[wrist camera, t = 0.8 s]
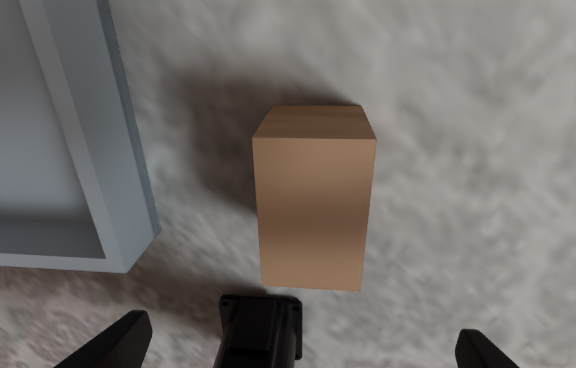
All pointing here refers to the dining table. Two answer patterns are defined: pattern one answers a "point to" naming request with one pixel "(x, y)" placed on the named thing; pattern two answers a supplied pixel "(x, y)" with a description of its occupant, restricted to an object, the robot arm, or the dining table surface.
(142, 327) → the robot arm
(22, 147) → the tray
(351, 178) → the walnut box
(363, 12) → the dining table surface
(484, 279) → the dining table surface
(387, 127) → the dining table surface
